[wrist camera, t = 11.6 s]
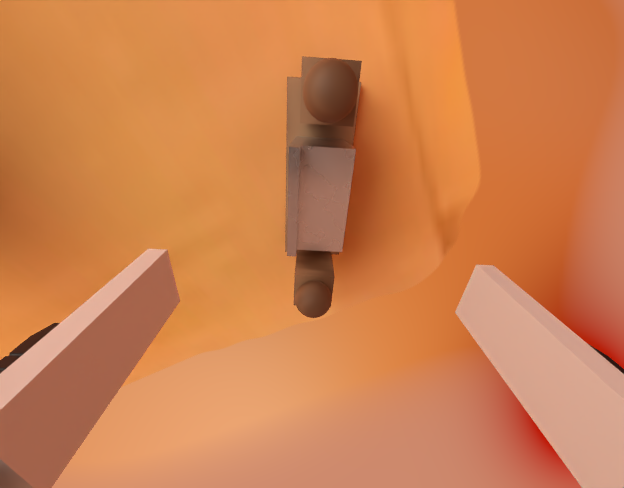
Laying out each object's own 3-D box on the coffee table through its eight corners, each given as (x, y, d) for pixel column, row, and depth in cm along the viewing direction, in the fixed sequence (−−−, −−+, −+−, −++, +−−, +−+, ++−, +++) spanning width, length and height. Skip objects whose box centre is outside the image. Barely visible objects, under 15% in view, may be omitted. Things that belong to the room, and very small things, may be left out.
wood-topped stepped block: (293, 216, 30) (287, 255, 22) (296, 136, 26) (288, 146, 17) (335, 219, 30) (343, 258, 22) (343, 139, 26) (358, 151, 18)
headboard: (286, 247, 33) (271, 325, 21) (288, 78, 24) (264, 42, 12) (338, 250, 33) (352, 328, 21) (359, 83, 24) (406, 53, 12)
